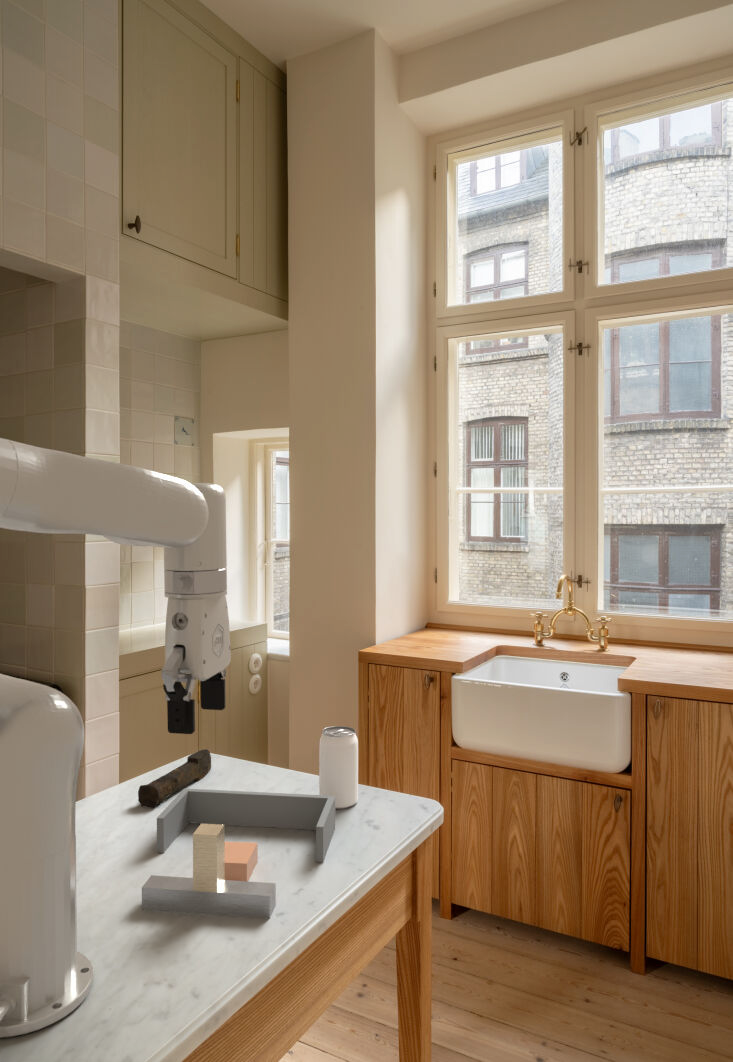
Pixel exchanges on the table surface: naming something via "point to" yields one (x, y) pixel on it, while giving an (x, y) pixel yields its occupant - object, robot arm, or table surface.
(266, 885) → the scraper
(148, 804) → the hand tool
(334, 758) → the can
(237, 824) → the box
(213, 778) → the table surface
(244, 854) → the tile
